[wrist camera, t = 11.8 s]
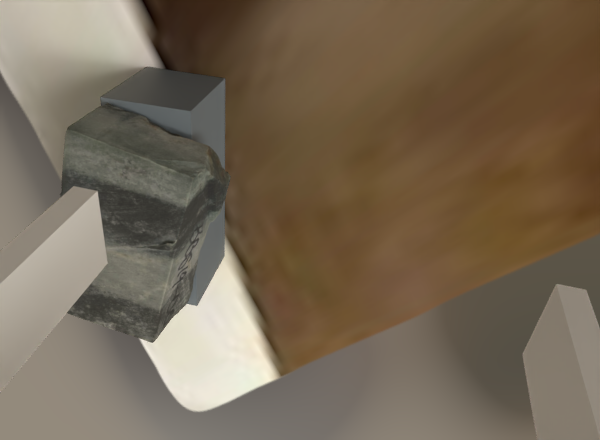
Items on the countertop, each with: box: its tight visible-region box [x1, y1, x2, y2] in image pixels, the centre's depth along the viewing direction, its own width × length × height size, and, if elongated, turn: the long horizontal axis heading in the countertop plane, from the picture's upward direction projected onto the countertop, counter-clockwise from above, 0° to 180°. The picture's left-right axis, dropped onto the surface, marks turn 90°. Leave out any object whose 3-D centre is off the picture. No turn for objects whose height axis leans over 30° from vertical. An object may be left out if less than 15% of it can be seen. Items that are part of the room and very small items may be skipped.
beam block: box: [100, 67, 225, 306], centre depth 41 cm, size 16×6×7 cm, turn 175°
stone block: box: [61, 103, 231, 343], centre depth 36 cm, size 9×14×5 cm, turn 162°
